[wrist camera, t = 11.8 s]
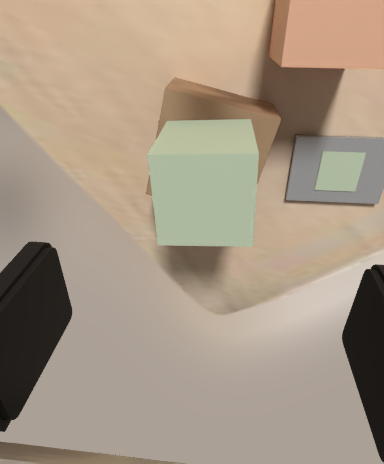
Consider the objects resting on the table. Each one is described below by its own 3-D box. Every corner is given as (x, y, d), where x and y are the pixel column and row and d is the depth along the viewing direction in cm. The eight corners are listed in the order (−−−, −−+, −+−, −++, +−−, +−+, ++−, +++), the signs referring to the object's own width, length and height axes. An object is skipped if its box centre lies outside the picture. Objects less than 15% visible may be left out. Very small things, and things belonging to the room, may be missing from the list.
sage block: (250, 119, 20) (258, 153, 15) (247, 195, 23) (252, 246, 18) (167, 120, 20) (147, 154, 15) (173, 195, 23) (158, 245, 18)
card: (396, 138, 24) (399, 140, 24) (376, 201, 27) (378, 204, 26) (295, 135, 24) (296, 137, 24) (285, 197, 27) (286, 200, 27)
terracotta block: (370, -42, 19) (422, -65, 14) (348, 57, 22) (384, 69, 17) (280, -42, 19) (298, -64, 14) (268, 56, 22) (281, 66, 17)
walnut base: (272, 103, 24) (281, 119, 20) (241, 191, 27) (243, 219, 24) (175, 77, 23) (165, 87, 20) (157, 169, 27) (145, 194, 23)
